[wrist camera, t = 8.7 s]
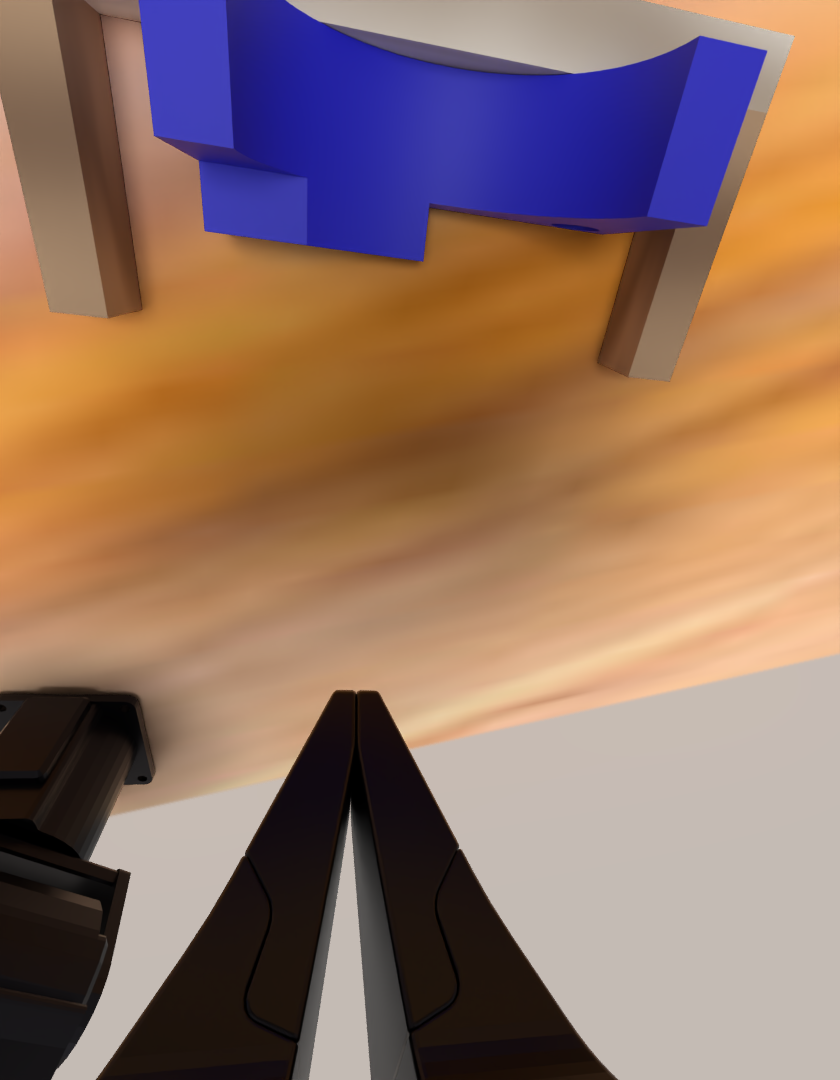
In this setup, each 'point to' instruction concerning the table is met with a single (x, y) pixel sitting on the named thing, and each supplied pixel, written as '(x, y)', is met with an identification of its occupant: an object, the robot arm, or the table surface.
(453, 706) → the table surface
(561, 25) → the slot rails
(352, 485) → the table surface
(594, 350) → the table surface
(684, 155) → the cable clip
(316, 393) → the table surface
